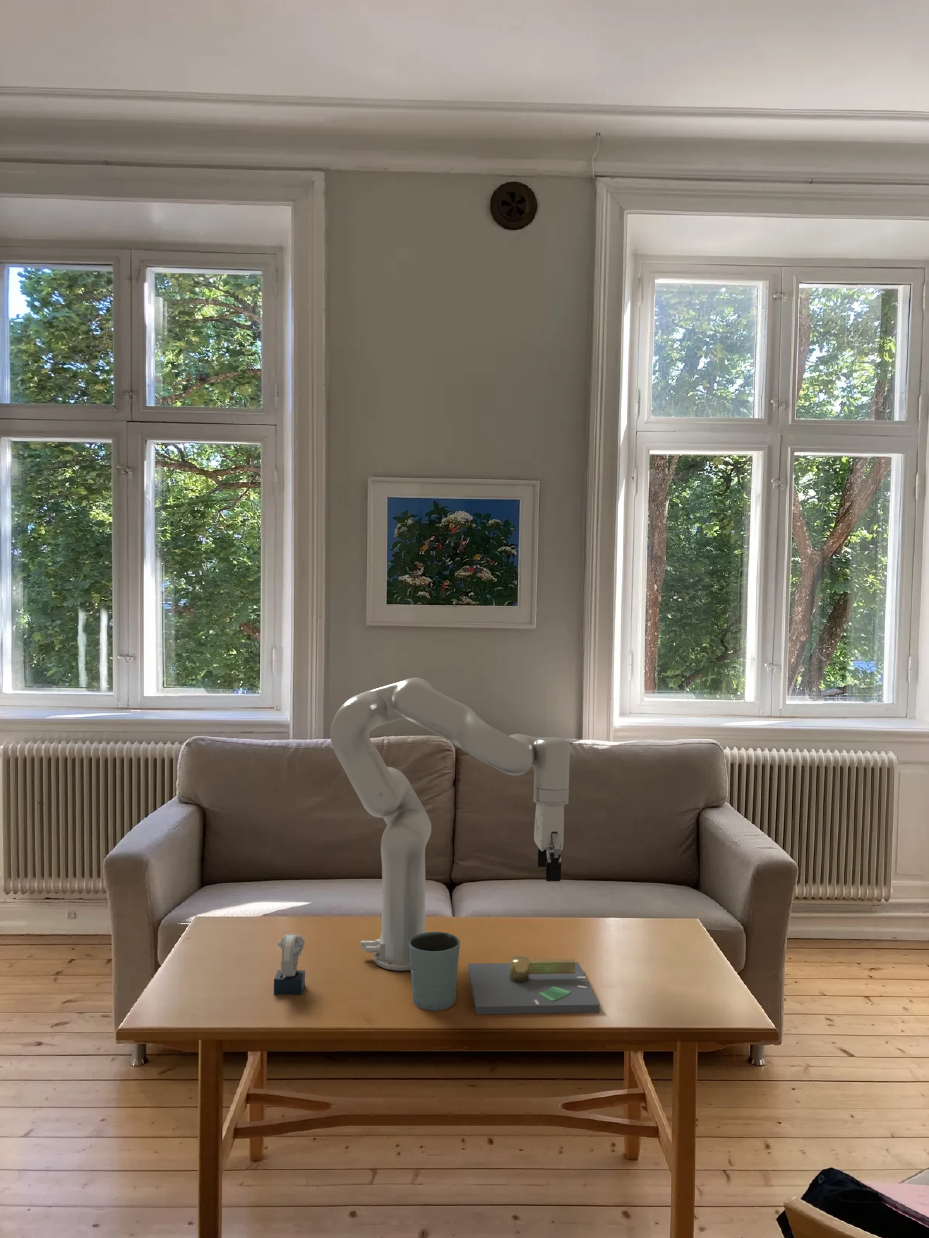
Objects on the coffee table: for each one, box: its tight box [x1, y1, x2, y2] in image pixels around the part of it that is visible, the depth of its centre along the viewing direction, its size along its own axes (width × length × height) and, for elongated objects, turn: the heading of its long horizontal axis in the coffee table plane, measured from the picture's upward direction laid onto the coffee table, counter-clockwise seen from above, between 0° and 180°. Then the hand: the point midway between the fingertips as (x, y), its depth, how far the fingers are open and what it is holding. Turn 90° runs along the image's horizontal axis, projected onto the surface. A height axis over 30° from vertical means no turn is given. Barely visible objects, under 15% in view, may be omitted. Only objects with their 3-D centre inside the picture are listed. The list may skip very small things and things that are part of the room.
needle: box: [509, 955, 576, 982], centre depth 182 cm, size 14×4×4 cm, turn 94°
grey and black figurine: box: [273, 933, 306, 996], centre depth 178 cm, size 6×8×11 cm
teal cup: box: [409, 931, 461, 1011], centre depth 174 cm, size 10×10×12 cm
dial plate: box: [467, 961, 600, 1015], centre depth 180 cm, size 24×20×2 cm
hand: (548, 873), depth 190 cm, fingers open, 9 cm apart
